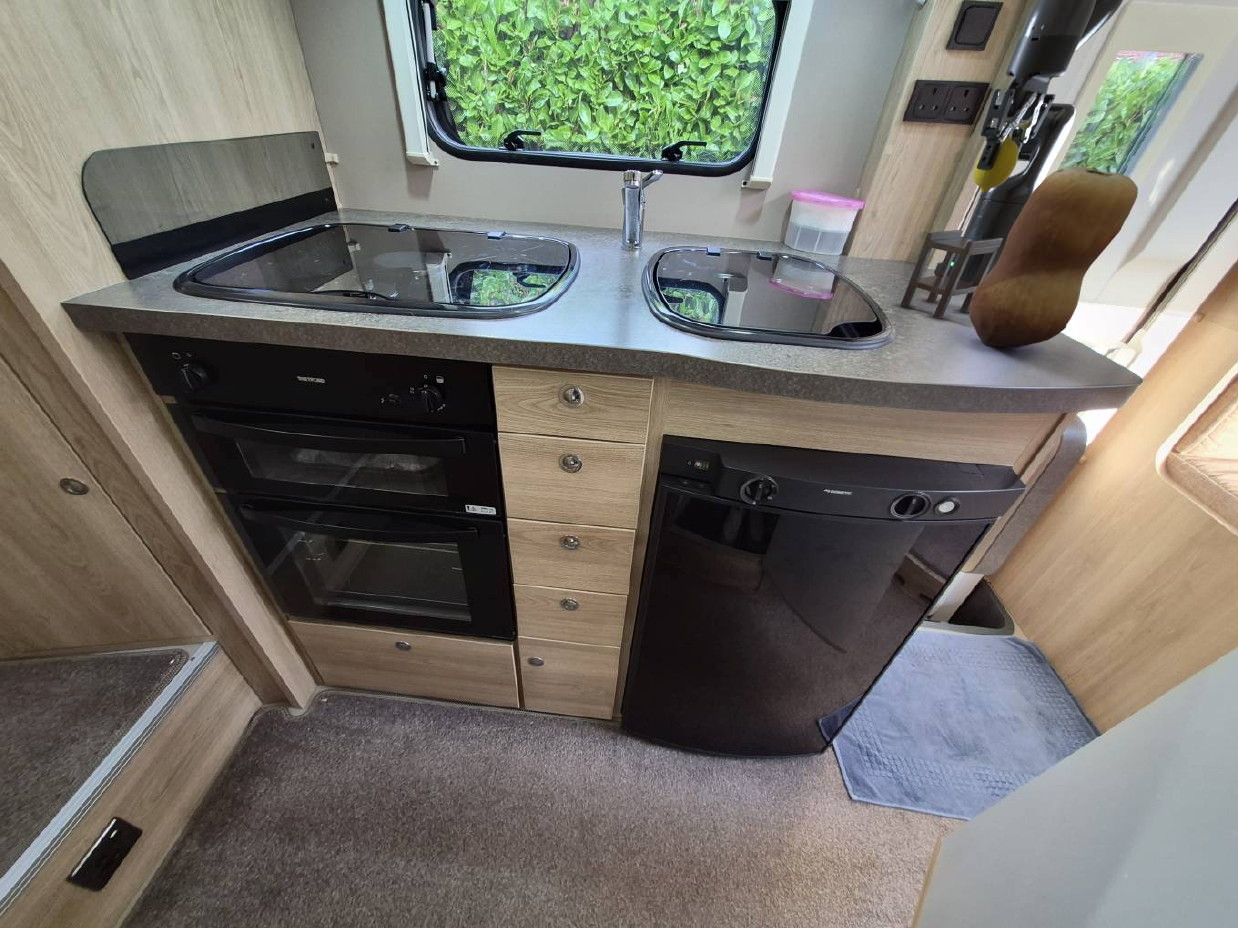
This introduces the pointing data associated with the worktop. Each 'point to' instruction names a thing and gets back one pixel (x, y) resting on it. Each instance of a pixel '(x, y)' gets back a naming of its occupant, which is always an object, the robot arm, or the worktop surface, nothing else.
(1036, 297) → the butternut squash
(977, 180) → the lemon
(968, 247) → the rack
